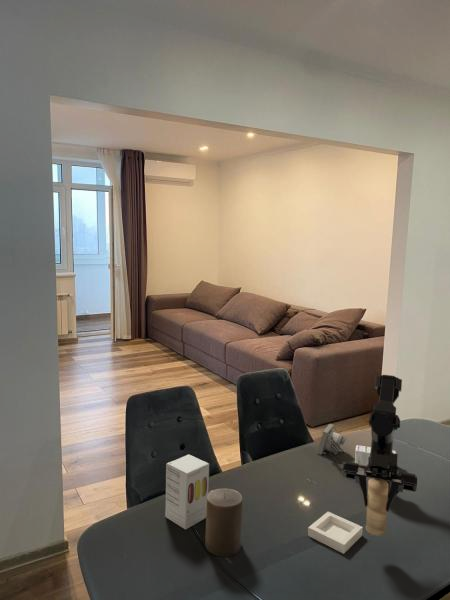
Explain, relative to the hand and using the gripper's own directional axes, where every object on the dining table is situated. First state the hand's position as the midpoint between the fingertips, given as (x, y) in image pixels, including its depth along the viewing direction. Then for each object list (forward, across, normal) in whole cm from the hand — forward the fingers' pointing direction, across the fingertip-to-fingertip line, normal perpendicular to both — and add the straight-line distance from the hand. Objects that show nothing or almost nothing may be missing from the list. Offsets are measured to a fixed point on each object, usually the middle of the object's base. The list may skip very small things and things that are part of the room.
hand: (376, 508), depth 116 cm
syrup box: (-32, +4, +47) cm, 57 cm away
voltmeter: (-28, -19, +48) cm, 59 cm away
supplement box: (+13, -53, +7) cm, 55 cm away
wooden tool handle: (+4, 0, +6) cm, 7 cm away
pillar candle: (+18, -38, +1) cm, 42 cm away
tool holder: (+6, -11, +13) cm, 18 cm away
